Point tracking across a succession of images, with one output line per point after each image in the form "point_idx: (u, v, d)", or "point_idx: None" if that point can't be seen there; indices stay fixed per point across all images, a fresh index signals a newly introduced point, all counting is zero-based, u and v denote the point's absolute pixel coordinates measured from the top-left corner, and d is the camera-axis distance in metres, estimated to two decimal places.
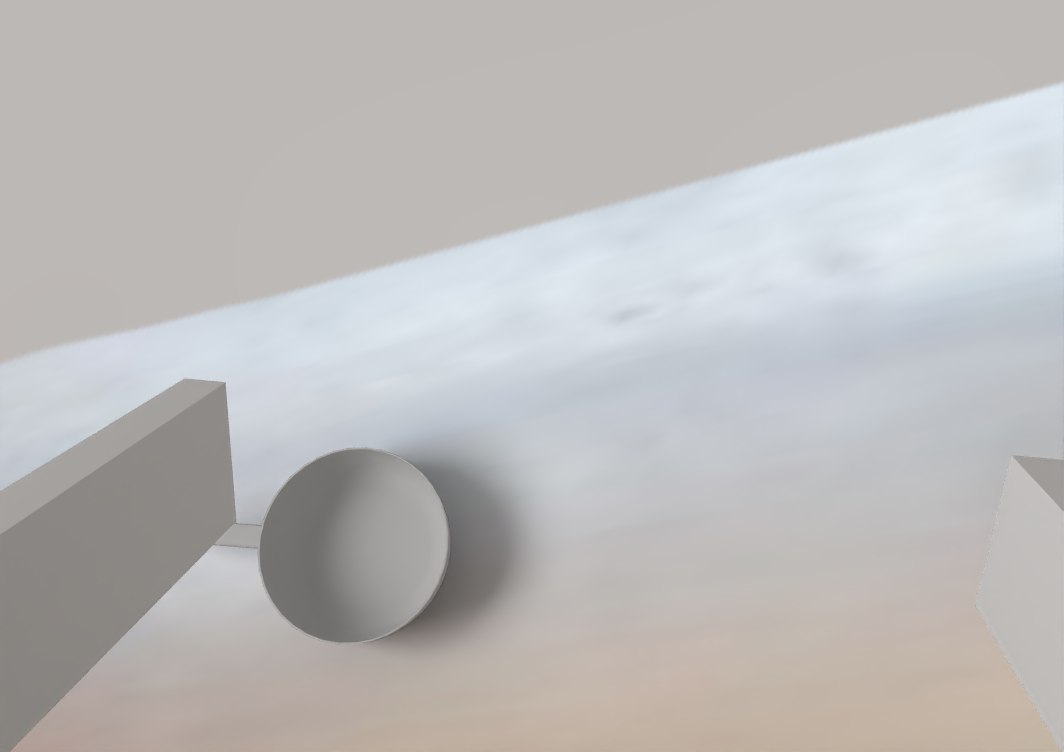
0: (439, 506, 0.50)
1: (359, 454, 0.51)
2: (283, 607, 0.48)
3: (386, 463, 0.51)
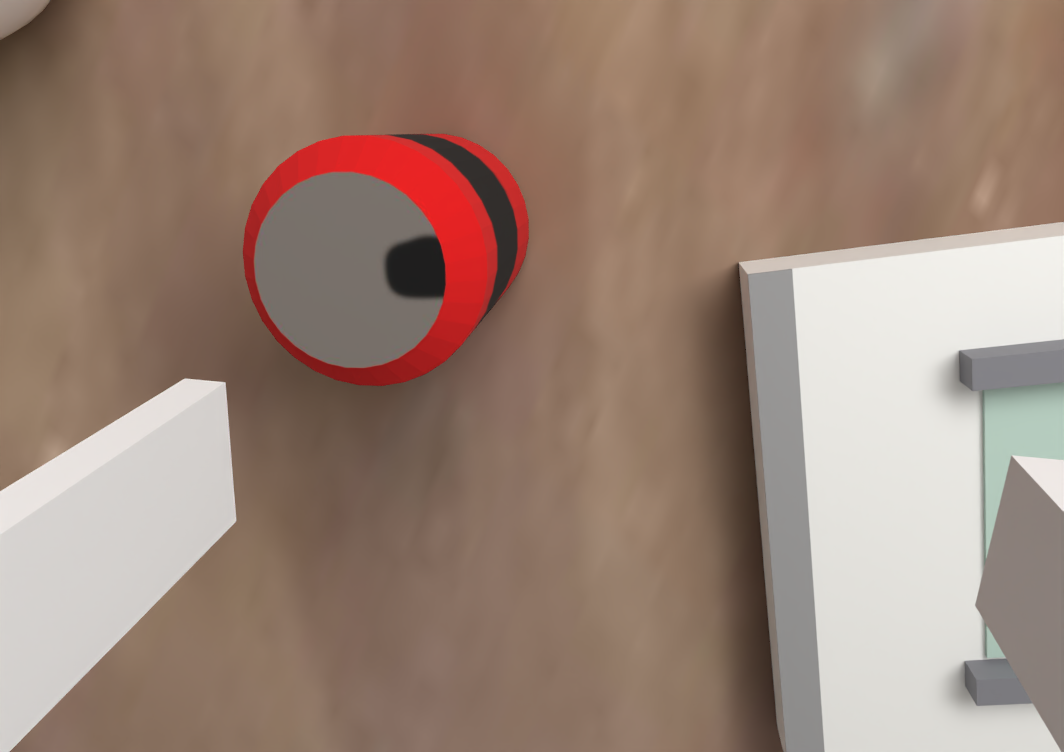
0: None
1: None
2: None
3: None
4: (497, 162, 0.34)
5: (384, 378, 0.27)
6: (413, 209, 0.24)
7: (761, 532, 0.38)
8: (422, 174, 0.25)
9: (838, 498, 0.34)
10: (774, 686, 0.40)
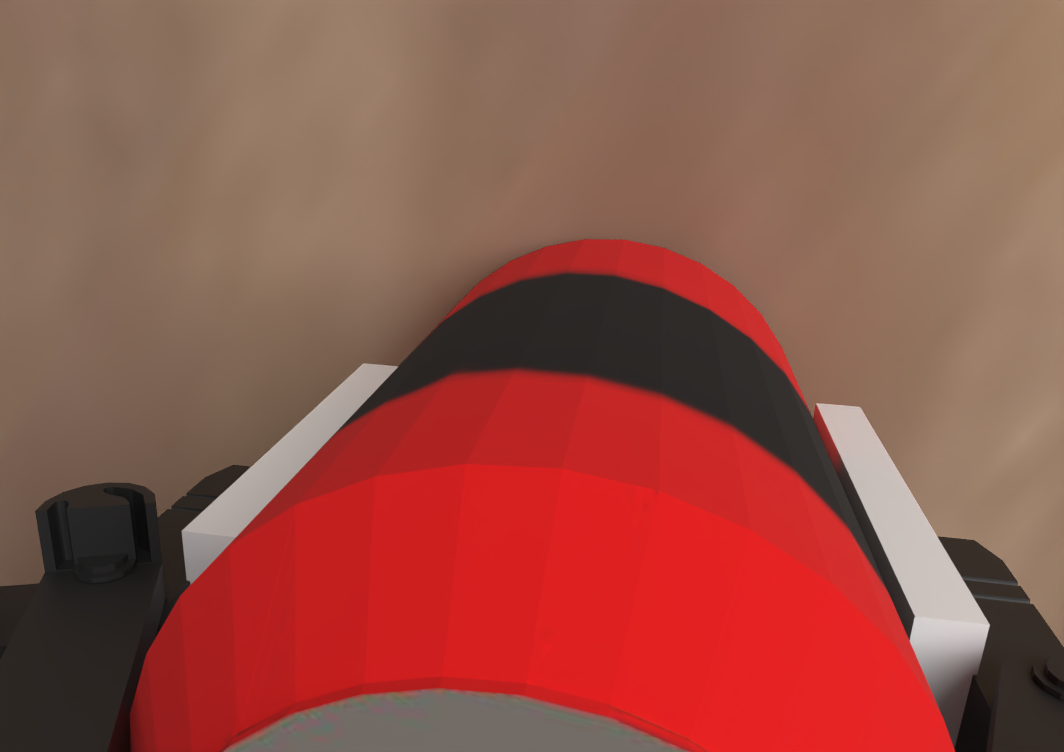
0: None
1: None
2: None
3: None
4: (776, 341, 0.15)
5: None
6: None
7: None
8: (855, 704, 0.06)
9: None
10: None
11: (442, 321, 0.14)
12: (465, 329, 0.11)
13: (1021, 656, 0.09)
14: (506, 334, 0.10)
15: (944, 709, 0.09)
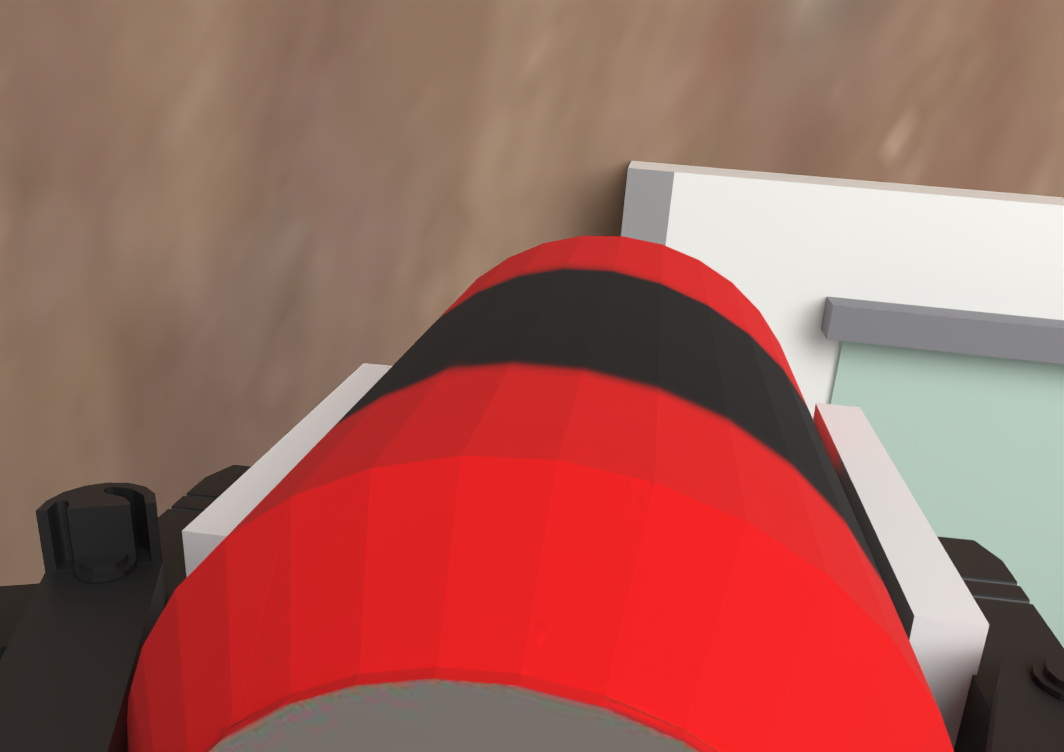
0: None
1: None
2: None
3: None
4: (774, 337, 0.15)
5: None
6: None
7: None
8: (850, 696, 0.06)
9: None
10: None
11: (440, 317, 0.14)
12: (462, 324, 0.11)
13: (1021, 656, 0.09)
14: (503, 329, 0.10)
15: (944, 709, 0.09)
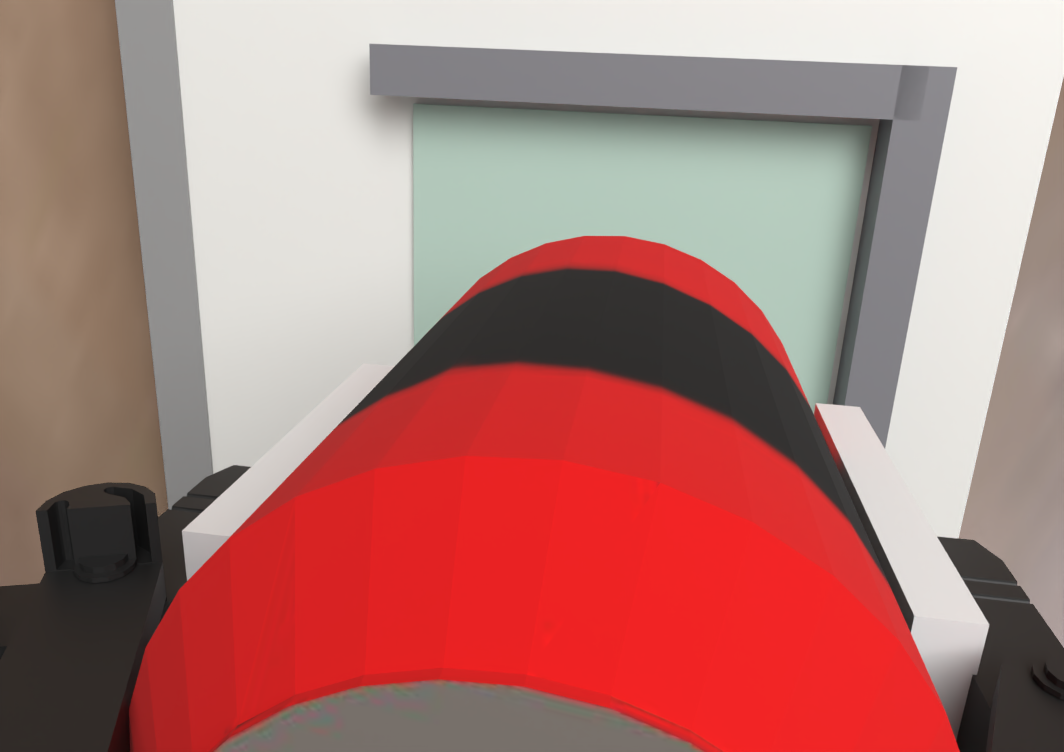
0: None
1: None
2: None
3: None
4: (776, 337, 0.15)
5: None
6: None
7: None
8: (856, 698, 0.06)
9: (232, 245, 0.25)
10: None
11: (442, 317, 0.14)
12: (465, 324, 0.11)
13: (1021, 656, 0.09)
14: (506, 329, 0.10)
15: None
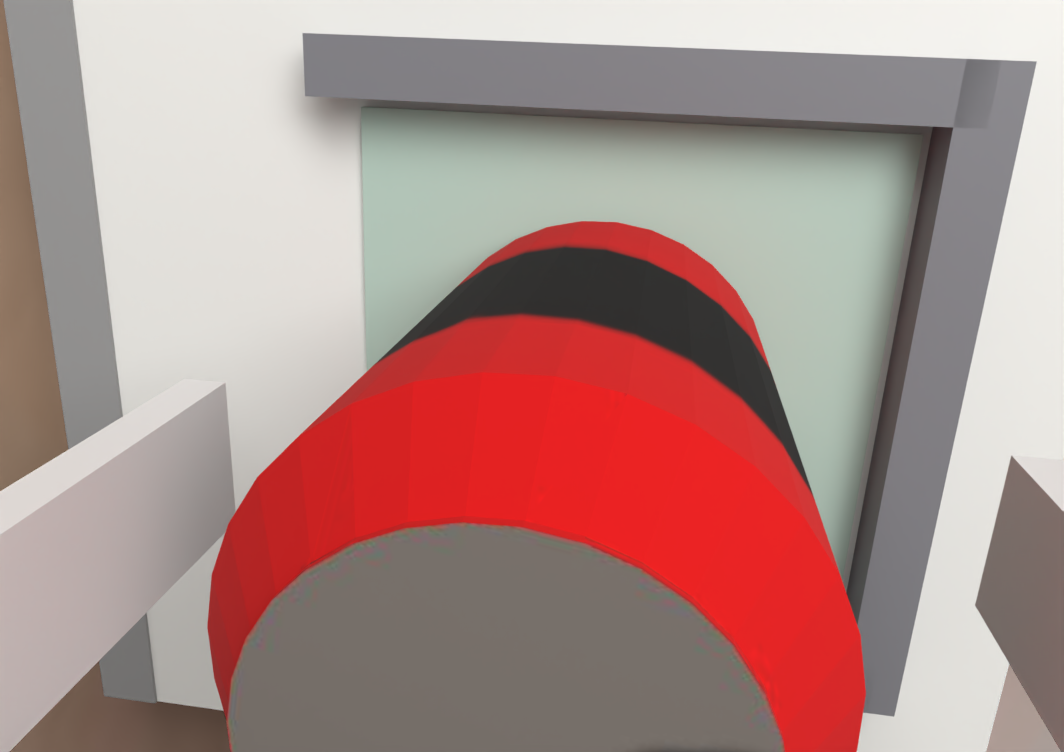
0: None
1: None
2: None
3: None
4: (747, 313, 0.18)
5: None
6: (740, 685, 0.08)
7: None
8: (767, 553, 0.08)
9: (151, 275, 0.21)
10: None
11: (456, 287, 0.16)
12: (478, 289, 0.14)
13: None
14: (512, 291, 0.12)
15: None
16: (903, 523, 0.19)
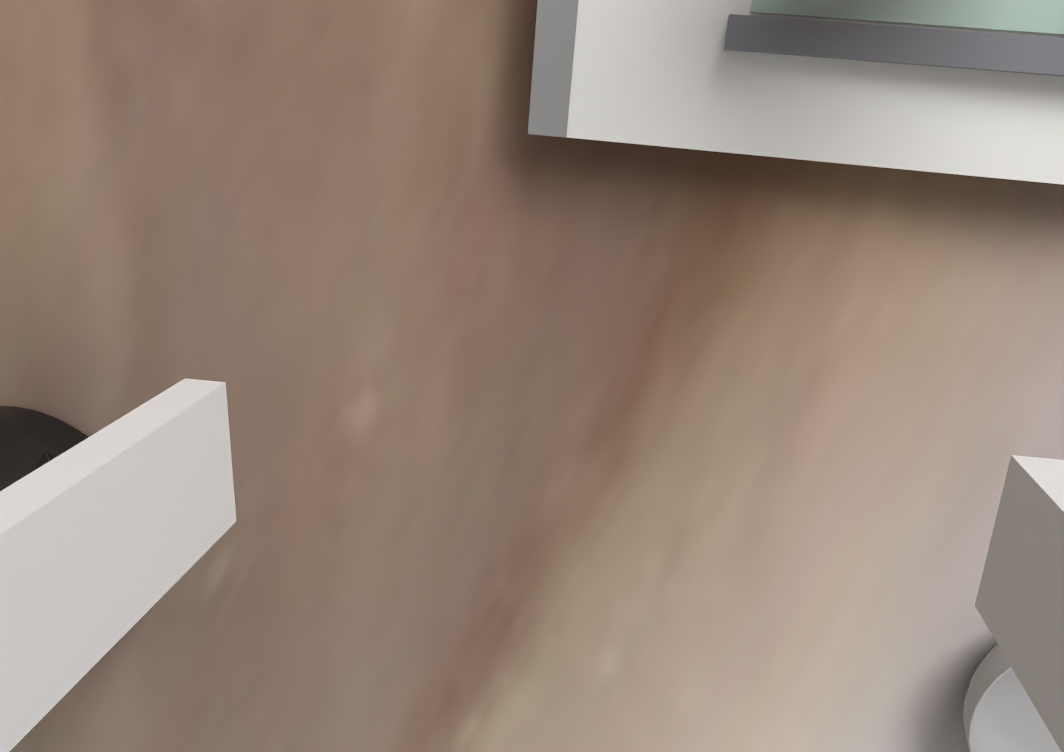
0: None
1: None
2: None
3: None
4: None
5: None
6: None
7: None
8: None
9: None
10: None
11: None
12: None
13: None
14: None
15: None
16: None
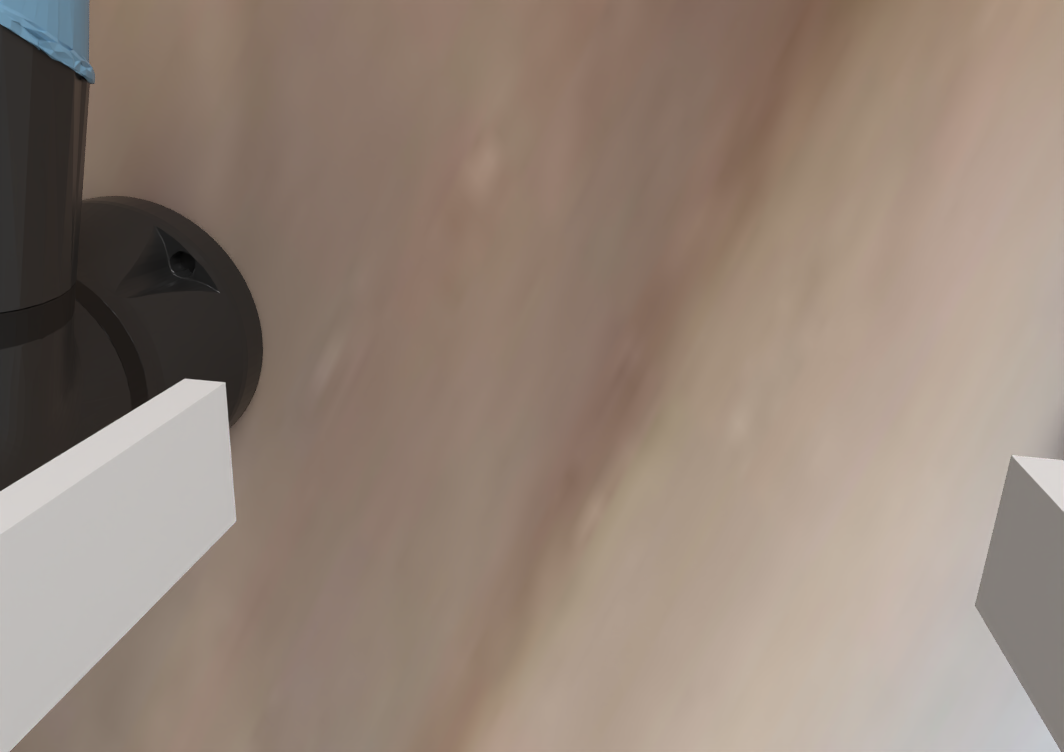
0: None
1: None
2: None
3: None
4: None
5: None
6: None
7: None
8: None
9: None
10: None
11: None
12: None
13: None
14: None
15: None
16: None
